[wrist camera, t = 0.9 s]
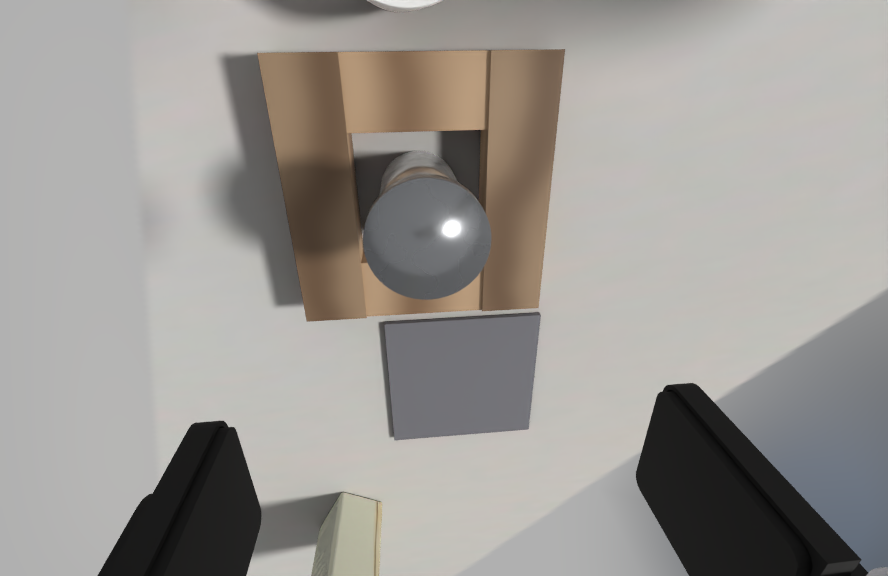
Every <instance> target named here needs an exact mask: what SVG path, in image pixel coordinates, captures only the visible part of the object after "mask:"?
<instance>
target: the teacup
mask: <svg viewBox="0 0 888 576" xmlns="http://www.w3.org/2000/svg"><path fill="white" fill-rule="evenodd" d="M367 1H368V2H370V3H372V4H373V5H375V6H377V7H379V8H382V9H384V10H388V11H392V12H409V11H414V10H419V9H423V8H426V7H429V6H432V5H435V4H437V3H439V2H441V1H443V0H367Z"/></svg>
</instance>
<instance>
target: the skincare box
mask: <svg viewBox="0 0 888 576" xmlns="http://www.w3.org/2000/svg"><path fill="white" fill-rule="evenodd" d="M381 520H382V503H381V502H378V501H375V500H371V499H367V498H364V497H360V496H356V495H352V494H348V493H345V492H343V493H341V494H340V496H339V498H338V499H337V501H336V502H335V504H334V506H333V507H332V509H331V511H330V512H329V514H328V516H327V517H326V519H325V521H324V522H323V524H322V526H321V528H320V530H319V535H318V541H317V546H316V552H315V558H314V563H313V569H312V575H311V576H379V566H380V544H381Z"/></svg>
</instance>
